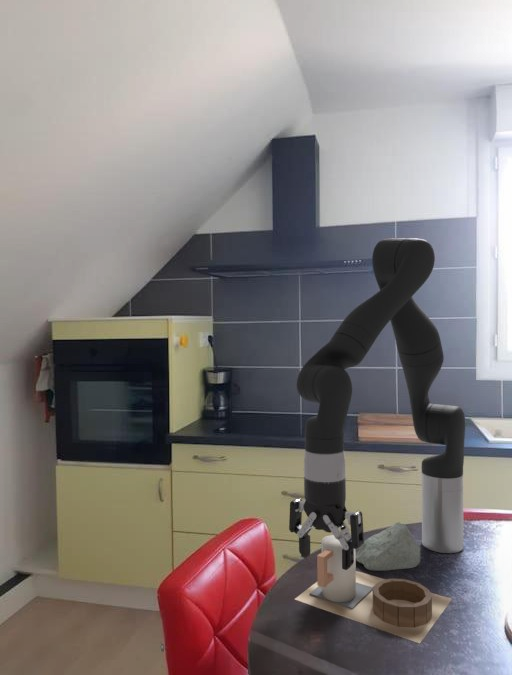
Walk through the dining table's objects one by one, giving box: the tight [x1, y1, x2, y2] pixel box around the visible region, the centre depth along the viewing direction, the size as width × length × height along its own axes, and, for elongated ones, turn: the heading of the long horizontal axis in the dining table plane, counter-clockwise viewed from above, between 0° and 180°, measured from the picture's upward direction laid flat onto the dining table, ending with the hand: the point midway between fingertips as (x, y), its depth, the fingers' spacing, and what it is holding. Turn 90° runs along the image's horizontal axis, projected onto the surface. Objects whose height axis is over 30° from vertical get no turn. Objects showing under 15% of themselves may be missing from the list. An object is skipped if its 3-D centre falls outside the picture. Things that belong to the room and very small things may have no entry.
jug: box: [316, 534, 357, 602], centre depth 102 cm, size 11×6×10 cm, turn 143°
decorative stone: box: [356, 522, 422, 571], centre depth 116 cm, size 13×11×10 cm
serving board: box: [294, 570, 453, 645], centre depth 101 cm, size 17×24×5 cm
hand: (325, 562), depth 99 cm, fingers open, 8 cm apart
